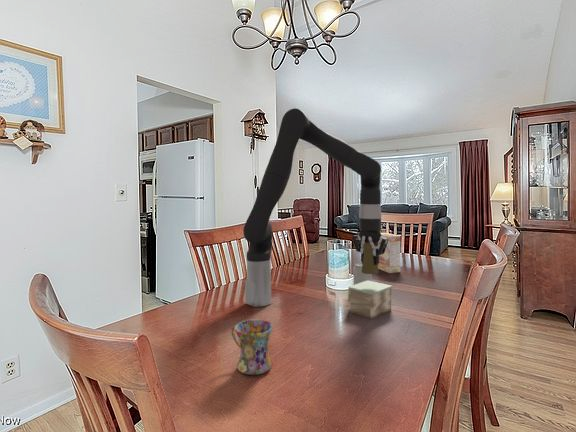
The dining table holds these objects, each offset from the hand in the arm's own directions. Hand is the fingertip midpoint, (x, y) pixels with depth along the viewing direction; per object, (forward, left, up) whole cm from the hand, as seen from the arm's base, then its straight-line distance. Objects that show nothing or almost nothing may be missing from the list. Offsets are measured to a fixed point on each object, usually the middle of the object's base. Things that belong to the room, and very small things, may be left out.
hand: (369, 264), depth 120 cm
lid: (0, 0, -9) cm, 9 cm away
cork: (0, 0, -3) cm, 3 cm away
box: (0, 0, -17) cm, 17 cm away
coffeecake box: (+60, +29, -17) cm, 69 cm away
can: (+17, +15, -17) cm, 28 cm away
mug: (-54, -1, -17) cm, 57 cm away
